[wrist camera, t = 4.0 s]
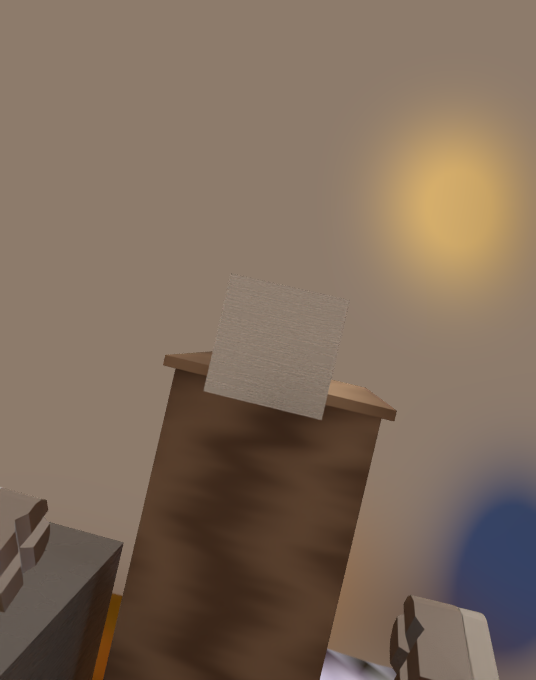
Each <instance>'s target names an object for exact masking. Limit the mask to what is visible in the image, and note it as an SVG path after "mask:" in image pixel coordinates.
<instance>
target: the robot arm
mask: <svg viewBox="0 0 536 680" xmlns="http://www.w3.org/2000/svg"><path fill="white" fill-rule="evenodd" d="M47 511H48V506H47V500H45V499H41V498H37V497H34V496H30V495H27V494H23V493H19V492H16V491H12V490H9V489H5V488H3V487H0V612H4V613H5V611H6V610H7V608H8V607H9V605H10V604H11V602H12V601H13V599H14V598H15V596H16V595H17V593H18V592H19V590H20V589H21V587H22V586H23V573H24V572H26V571H27V570H29V569H31V568H33V567H34V566H36V564H37V563H38V561H39V560H40V558H41V557H42V555H43V553H44V551H45V548H46V546H47V544H48V541H49V536H50V523H49V522H48V521H47V520H46V519H45V517H44V515H45V514H46V512H47ZM390 664H391V665H392V667H393V669H394V671H395V672H396V674H397V675H396V677H395V679H394V680H499V677H498V672H497V668H496V663H495V658H494V653H493V649H492V644H491V640H490V634H489V630H488V625H487V620H486V619H485V617H484V615H483V614H481V613H479V612H475V611H470V610H466V609H462V608H458V607H456V606H454V605H449V604H446V603H441V602H437V601H433V600H429V599H425V598H421V597H417V596H413V595H410V596H408V597H407V599H406V601H405V602H404V614H402V615H399V616H397V618H396V621H395V623H394V625H393V629H392V634H391V639H390Z"/></svg>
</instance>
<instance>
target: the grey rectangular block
mask: <svg viewBox="0 0 536 680" xmlns="http://www.w3.org/2000/svg"><path fill="white" fill-rule="evenodd" d="M349 302H350V301H349V300H346V299H342V298H337V297H333V296H328V295H324V294H319V293H315V292H310V291H306V290H302V289H297V288H293V287H289V286H284V285H280V284H275V283H271V282H266V281H262V280H258V279H253V278H248V277H244V276H239V275H235V274H231V275H230V280H229V284H228V288H227V292H226V297H225V301H224V305H223V310H222V314H221V318H220V322H219V327H218V331H217V335H216V340H215V344H214V348H213V352H212V357H211V361H210V365H209V369H208V374H207V378H206V382H205V387H204V391H205V392H209V393H213V394H217V395H221V396H225V397H229V398H233V399H237V400H241V401H245V402H250V403H254V404H258V405H262V406H266V407H270V408H274V409H278V410H282V411H286V412H290V413H294V414H298V415H302V416H307V417H311V418H315V419H319V420H322V416H323V412H324V408H325V404H326V399H327V395H328V391H329V387H330V382H331V378H332V374H333V370H334V365H335V361H336V357H337V353H338V348H339V343H340V340H341V336H342V331H343V327H344V323H345V318H346V315H347V310H348V306H349Z"/></svg>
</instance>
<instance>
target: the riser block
mask: <svg viewBox="0 0 536 680" xmlns="http://www.w3.org/2000/svg"><path fill="white" fill-rule="evenodd" d="M49 523H50V536H49V541H48V544H47V546H46V548H45V551H44V553H43V555H42V557H41V558H40V560H39V561H38V563H37V564H36V566H34V567H33V568H31V569H29V570H27V571H26V572H24V573H23V586H22V587H21V589H20V590H19V592H18V593H17V595H16V596H15V598H14V599H13V601H12V602H11V604H10V605H9V607H8V608H7V610H6V611H5V613H4V612H0V680H92V676H93V672H94V668H95V664H96V659H97V655H98V651H99V646H100V642H101V638H102V633H103V629H104V625H105V621H106V616H107V612H108V608H109V603H110V599H111V595H112V590H113V586H114V582H115V578H116V573H117V568H118V565H119V560H120V556H121V552H122V547H123V542H120V541H116V540H113V539H109V538H105V537H102V536H98V535H95V534H91V533H87V532H84V531H80V530H76V529H72V528H69V527H65V526H62V525H58V524H54V523H51V522H49Z"/></svg>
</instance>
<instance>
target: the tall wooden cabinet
mask: <svg viewBox="0 0 536 680" xmlns="http://www.w3.org/2000/svg"><path fill="white" fill-rule="evenodd" d="M212 352H213V351H212ZM212 352H198V353H186V354H173V355H165V359H164V364H163V365H164V366H168V367H172V368H176V370H175V374H174V378H173V382H172V386H171V391H170V395H169V399H168V404H167V408H166V412H165V417H164V421H163V425H162V430H161V434H160V439H159V443H158V447H157V451H156V455H155V460H154V464H153V468H152V472H151V477H150V482H149V485H148V490H147V494H146V498H145V503H144V507H143V512H142V515H141V520H140V524H139V529H138V533H137V537H136V542H135V545H134V550H133V554H132V558H131V563H130V567H129V572H128V576H127V580H126V584H125V588H124V593H123V597H122V601H121V606H120V610H119V614H118V619H117V623H116V627H115V631H114V636H113V640H112V644H111V649H110V653H109V657H108V662H107V666H106V670H105V674H104V679H103V680H320V676H321V672H322V667H323V663H324V659H325V655H326V650H327V646H328V642H329V638H330V634H331V629H332V625H333V621H334V616H335V612H336V608H337V604H338V600H339V596H340V591H341V587H342V583H343V579H344V574H345V570H346V566H347V562H348V558H349V553H350V549H351V545H352V540H353V536H354V532H355V528H356V523H357V519H358V515H359V511H360V507H361V502H362V498H363V494H364V490H365V486H366V481H367V477H368V473H369V469H370V465H371V460H372V456H373V452H374V448H375V443H376V439H377V435H378V431H379V426H380V422H381V418H382V419H386V420H390V421H394V420H395V416H396V412H397V411H396V410H395V409H394V408H392V407H391V406H390V405H388V404H387V403H385V402H384V401H383V400H381V399H380V398H379V397H377V396H376V395H375V394H373V393H372V392H371V391H369V390H368V389H367V388H364V387H360V386H356V385H352V384H347V383H343V382H338V381H335V380H331V382H330V387H329V391H328V395H327V399H326V404H325V408H324V412H323V416H322V420H319V419H315V418H311V417H307V416H302V415H298V414H294V413H290V412H286V411H282V410H278V409H274V408H270V407H266V406H262V405H258V404H254V403H250V402H245V401H241V400H237V399H233V398H229V397H225V396H221V395H217V394H213V393H209V392H205V391H204V387H205V382H206V378H207V374H208V369H209V365H210V361H211V357H212Z"/></svg>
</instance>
